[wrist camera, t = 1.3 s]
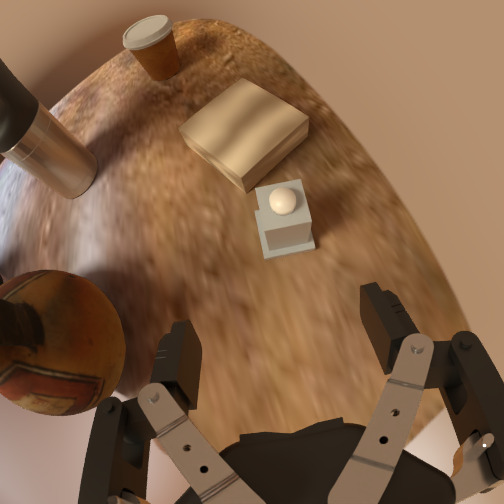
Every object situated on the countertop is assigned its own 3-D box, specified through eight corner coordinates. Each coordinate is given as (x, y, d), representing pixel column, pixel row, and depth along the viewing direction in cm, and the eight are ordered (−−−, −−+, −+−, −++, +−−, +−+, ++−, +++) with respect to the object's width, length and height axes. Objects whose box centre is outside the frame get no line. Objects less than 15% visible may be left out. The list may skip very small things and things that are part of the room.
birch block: (188, 146, 44) (177, 128, 39) (246, 98, 45) (242, 77, 40) (246, 194, 41) (240, 177, 36) (307, 137, 42) (309, 116, 37)
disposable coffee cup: (177, 86, 48) (155, 39, 36) (136, 87, 49) (111, 46, 38) (195, 55, 50) (179, 10, 38) (155, 57, 51) (136, 17, 40)
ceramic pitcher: (30, 311, 40) (-114, 278, 12) (108, 254, 41) (-61, 164, 12) (69, 419, 35) (-85, 451, 6) (162, 379, 35) (-42, 433, 7)
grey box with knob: (265, 260, 38) (256, 237, 28) (255, 214, 39) (244, 177, 30) (314, 250, 37) (323, 223, 28) (303, 204, 39) (306, 165, 29)
